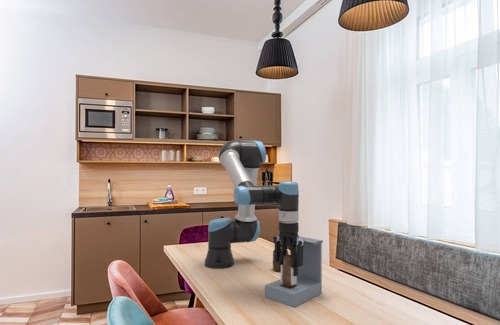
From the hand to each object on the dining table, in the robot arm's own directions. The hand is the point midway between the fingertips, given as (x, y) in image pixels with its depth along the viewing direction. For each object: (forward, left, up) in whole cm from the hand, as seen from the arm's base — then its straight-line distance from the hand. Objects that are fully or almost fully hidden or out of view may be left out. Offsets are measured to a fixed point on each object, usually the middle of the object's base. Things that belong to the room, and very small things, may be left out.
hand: (288, 282), depth 130 cm
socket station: (0, +3, -6) cm, 7 cm away
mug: (-22, +25, -6) cm, 34 cm away
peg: (0, 0, -5) cm, 5 cm away
